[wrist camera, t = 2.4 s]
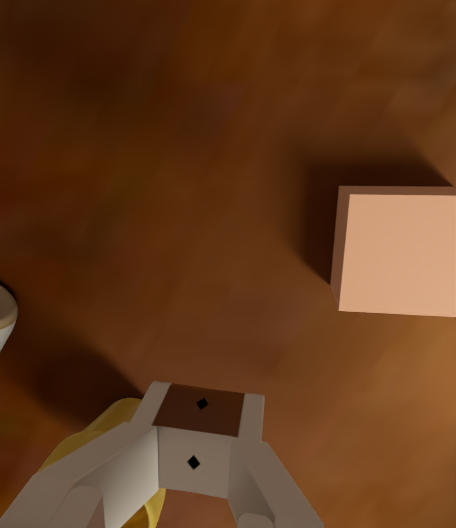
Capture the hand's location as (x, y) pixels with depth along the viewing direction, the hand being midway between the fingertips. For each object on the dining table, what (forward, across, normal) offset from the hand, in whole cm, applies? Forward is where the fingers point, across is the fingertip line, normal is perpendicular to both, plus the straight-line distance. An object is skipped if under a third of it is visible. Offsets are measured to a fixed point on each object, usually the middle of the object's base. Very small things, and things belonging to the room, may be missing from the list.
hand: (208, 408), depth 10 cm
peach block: (+21, -10, 0) cm, 23 cm away
